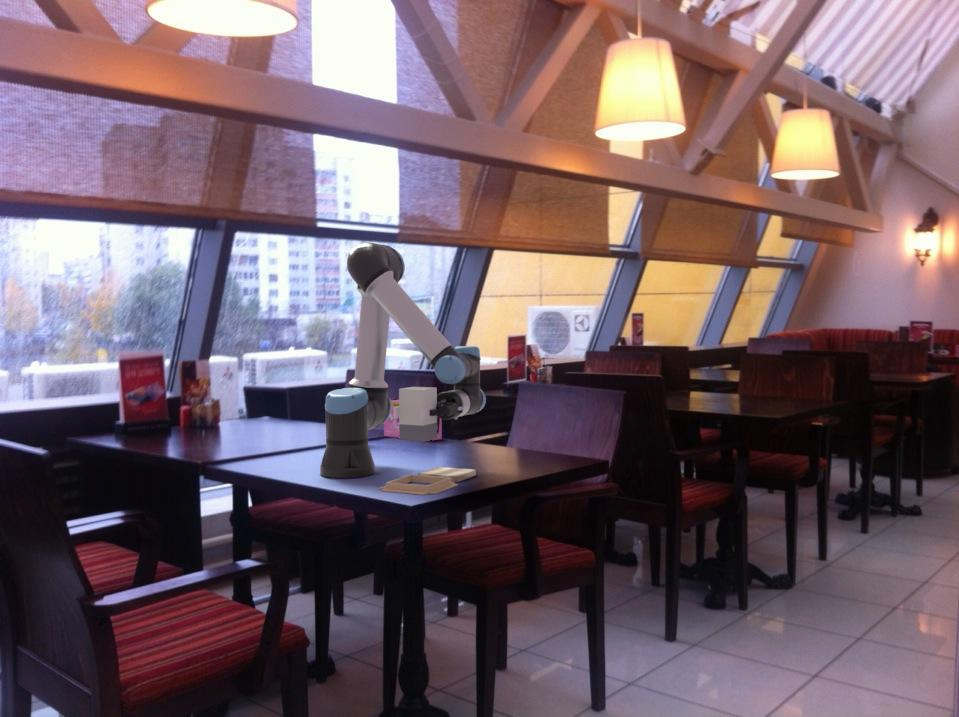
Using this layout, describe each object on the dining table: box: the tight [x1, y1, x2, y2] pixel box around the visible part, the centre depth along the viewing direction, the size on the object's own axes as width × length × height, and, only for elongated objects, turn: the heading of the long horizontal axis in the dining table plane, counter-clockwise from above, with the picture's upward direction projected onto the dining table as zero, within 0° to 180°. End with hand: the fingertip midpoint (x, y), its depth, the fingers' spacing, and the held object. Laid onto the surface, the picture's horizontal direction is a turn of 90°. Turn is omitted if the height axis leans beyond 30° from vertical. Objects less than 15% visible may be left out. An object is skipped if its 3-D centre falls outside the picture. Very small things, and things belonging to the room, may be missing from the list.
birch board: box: [417, 466, 477, 483], centre depth 240 cm, size 12×11×2 cm
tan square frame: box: [378, 474, 459, 496], centre depth 227 cm, size 16×16×2 cm
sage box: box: [398, 386, 438, 442], centre depth 226 cm, size 7×7×13 cm
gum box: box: [383, 397, 443, 442], centre depth 318 cm, size 24×8×14 cm, turn 49°
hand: (408, 413), depth 221 cm, fingers closed on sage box, 7 cm apart
